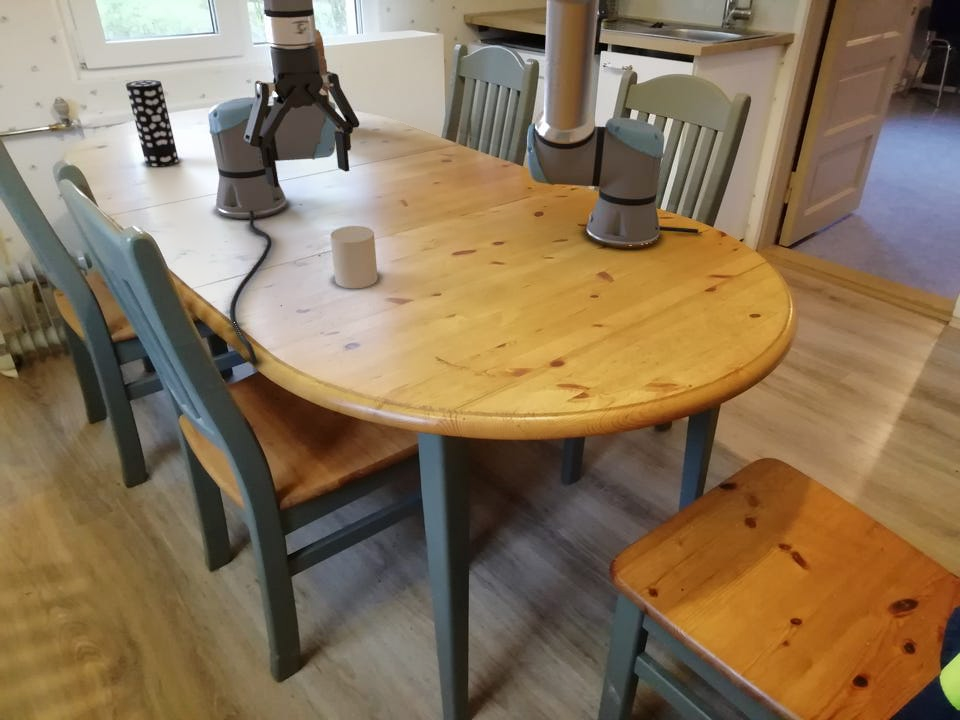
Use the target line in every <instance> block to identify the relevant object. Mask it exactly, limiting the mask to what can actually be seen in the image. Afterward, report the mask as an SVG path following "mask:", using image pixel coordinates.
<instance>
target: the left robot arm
mask: <svg viewBox="0 0 960 720" xmlns="http://www.w3.org/2000/svg"><path fill="white" fill-rule="evenodd" d="M313 2H314V1H313V0H262V5H263V15H264V23H265V31H266V38H267V42H268V43H269V44H271V46H270V47H269V49H268V50H269V58H270V66H271V71H272V75H273V77H272V78H273V79H272V82H267V81H266V82H265V81H261V80H256V81H255V82H254V93H255V95H254V97H250V96H248V97H241V98H240V97H239V98H235V99H231V100H227V101H223V102H220V103H217V104H216V105H214V106H213V107H212V108H211V109H210V110H209V112H208V116H207V117H208V124H209V125H208V126H209V134H210V135H211V140H212V145H213V149H214V156H215V160H216V167H217V169H218V170H217V172H218V185H217V193H216V201H215V203H216V204H215V206H216V210H217V213H218V214H219V215H221V216H223V217H225V218H229V219H236V220H249V227H250V229H251V230H252V231H253V232H254V233H255V234H257V235H260V236H262V237H263V238H265V239H266V242H267V243H266V246H265V249H264V251H263V253H262V255H261V256H260V258H259V259H258V260H257V262H256V263H255V264H254V266H253V267H252V268H251V269H250V271H249V272H248V273H247V275H246V276H245V277H244V279H242V281H241V282H240V283H239V285H238V287H237V289H236V291H235V292H234V295H233V297H232V299H231V301H230V302H231V303H230V306H229V317H230V322H231V325H232V327H233V330H234V332H235V333H236V335H237V337H238V340H239V341H240V342H241V343H242V344H243V345H244V346H245V348H246V350H247V352H248V354H249V358H250V361H251V364H252V365H257V364H258V360H257V357H256V353H255V350H254V348H253V345H252V344H251V342H250V341H249V340H248V338H246V336H245V335H244V334H243V331H242V329H241V327H240V326H239V324H238V321H237V318H236V306H237V302H238V299H239V298H240V295H241V293H242V291H243V290H244V288H245V286H246V285H247V283H249V281H250V280H251V278H252V277H253V276H254V274H255V273H256V272H257V271H258V270H259V268H260V267H261V265H262V264H263V263H264V261H265V260H266V258H267V256H268V254H269V252H270V250H271V248H272V245H273V243H272V242H273V241H272V239H271V236H270V235H269V234H268V233H266V232H264V231H262V230H260V229H258V228H257V227H256V226H255V225H254V222H255V219H260V218H261V219H262V218H265V217H266V218H267V217H270V216H274V215H276V214H278V213H280V212H282V211H283V210H285V209H286V207H287V199H286V194H285V193H284V191H283V189H282V187H281V184H280V182H279V176H278V170H277V163H276V162H281V161H299V160H313V161H314V160H316V159H323V158H330V157H331V156H333V154H334V152H336V161H337V162H336V163H337V169H340V170H342V171H344V172H350V161H349V152H350V151H351V150H352V142H351V141H352V140H351V134H353V133H354V129H355V128H359V126H360V124H361V123H360V121H359V118H358V117H357V115H356V113H355V111H354V109H353V108H352V106H351V104H350V102H349V100H348V99H347V97H346V95H345V93H344V91H343V89H342V88H341V83H340V79H339V78H340V77H339V74H337V73H335V72H332V71H328V70H327V72H326V73H325V75H320V72H319V70H320V63H319V53H318V48H317V47H316V45H314V43H315V42H316V41H317V36H316V19H315V18H316V17H315V10H314V3H313ZM323 83H324V85H325V86H326V87H328V93H330V96H331V97H332V99H333V101H334V102H335V103H334V102H333V101H330V102H329V103H328V97H327V93H326V92H325V91H324V90H323V89H322V86H323ZM273 92H274V93H273ZM271 96H272V101H273V104H270V105H269V101H270V97H271ZM336 106H337V107H336ZM337 108H338V110H339V111H340V113H341V115H342V116H341V115H340V114H339V113H338V111H336V109H337ZM337 129H338V130H337ZM234 322H235V323H234ZM235 324H236V325H235ZM236 326H237V327H236ZM237 328H238V329H237ZM238 330H239V331H238ZM239 332H240V333H241V334H240V333H239Z"/></svg>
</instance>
